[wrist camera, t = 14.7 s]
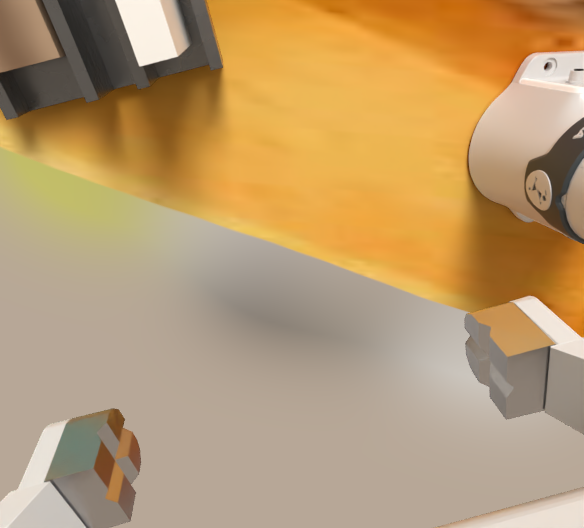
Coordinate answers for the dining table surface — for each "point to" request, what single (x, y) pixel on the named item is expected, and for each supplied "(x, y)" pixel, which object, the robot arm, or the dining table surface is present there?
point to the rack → (100, 56)
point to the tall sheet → (154, 29)
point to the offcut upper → (26, 34)
